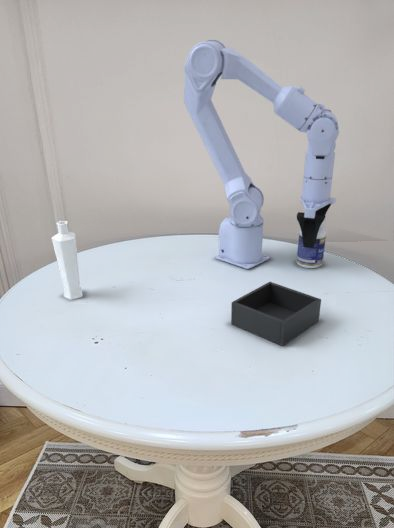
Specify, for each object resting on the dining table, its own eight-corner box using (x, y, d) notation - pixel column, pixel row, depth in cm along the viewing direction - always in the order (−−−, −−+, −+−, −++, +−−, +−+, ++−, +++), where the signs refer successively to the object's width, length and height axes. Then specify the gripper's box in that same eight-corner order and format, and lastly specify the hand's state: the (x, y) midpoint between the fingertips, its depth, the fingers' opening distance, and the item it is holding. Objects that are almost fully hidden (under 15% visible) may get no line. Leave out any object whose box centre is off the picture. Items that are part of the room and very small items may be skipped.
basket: (231, 324, 95) (231, 302, 93) (268, 302, 102) (269, 281, 100) (282, 346, 89) (284, 322, 87) (318, 321, 96) (321, 299, 93)
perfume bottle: (90, 294, 107) (80, 221, 99) (72, 302, 104) (60, 228, 96) (76, 287, 110) (65, 216, 102) (58, 295, 107) (45, 222, 99)
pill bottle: (322, 269, 115) (328, 225, 109) (295, 268, 116) (299, 223, 110) (322, 259, 119) (327, 216, 114) (296, 257, 120) (300, 214, 115)
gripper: (333, 187, 101) (325, 254, 108) (342, 168, 112) (334, 230, 119) (296, 184, 103) (291, 251, 110) (308, 166, 114) (303, 227, 121)
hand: (311, 240), depth 115 cm, fingers open, 7 cm apart
